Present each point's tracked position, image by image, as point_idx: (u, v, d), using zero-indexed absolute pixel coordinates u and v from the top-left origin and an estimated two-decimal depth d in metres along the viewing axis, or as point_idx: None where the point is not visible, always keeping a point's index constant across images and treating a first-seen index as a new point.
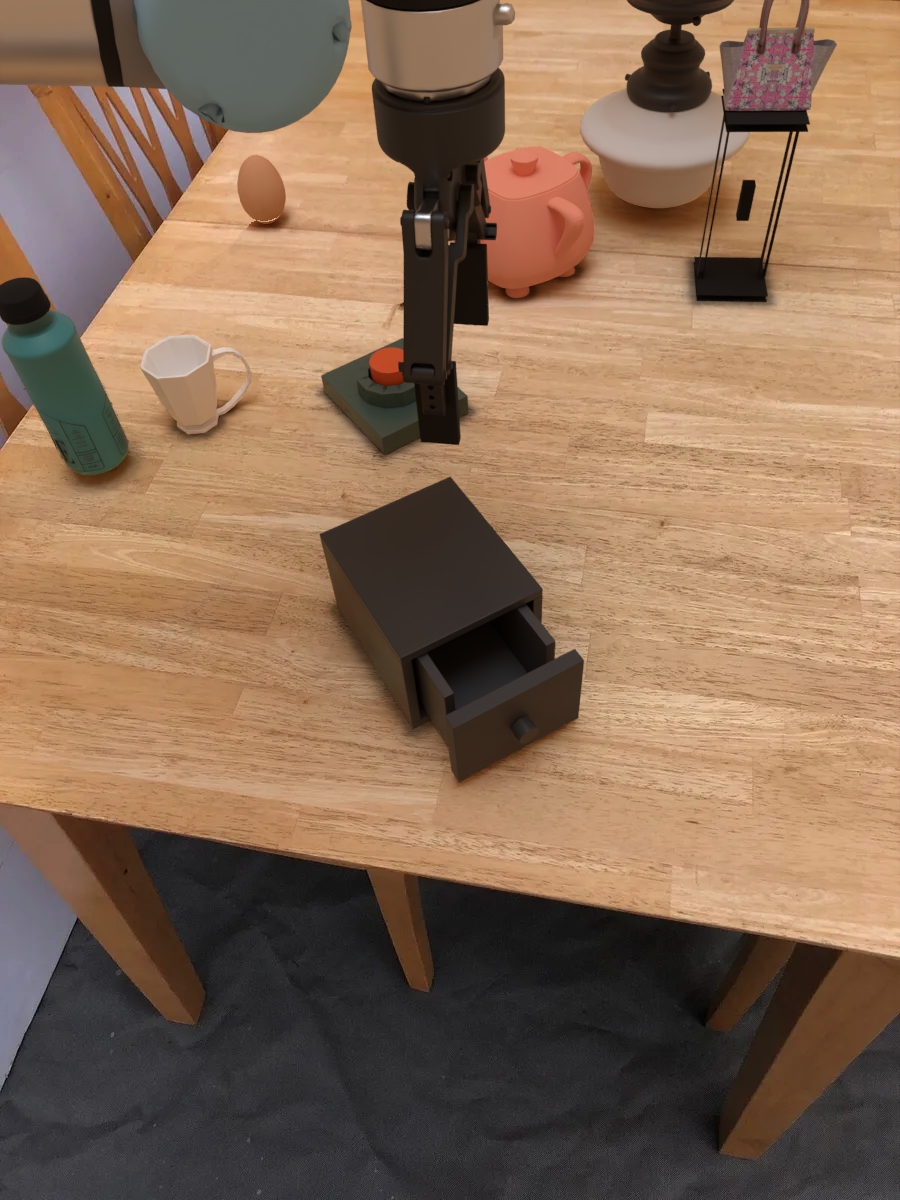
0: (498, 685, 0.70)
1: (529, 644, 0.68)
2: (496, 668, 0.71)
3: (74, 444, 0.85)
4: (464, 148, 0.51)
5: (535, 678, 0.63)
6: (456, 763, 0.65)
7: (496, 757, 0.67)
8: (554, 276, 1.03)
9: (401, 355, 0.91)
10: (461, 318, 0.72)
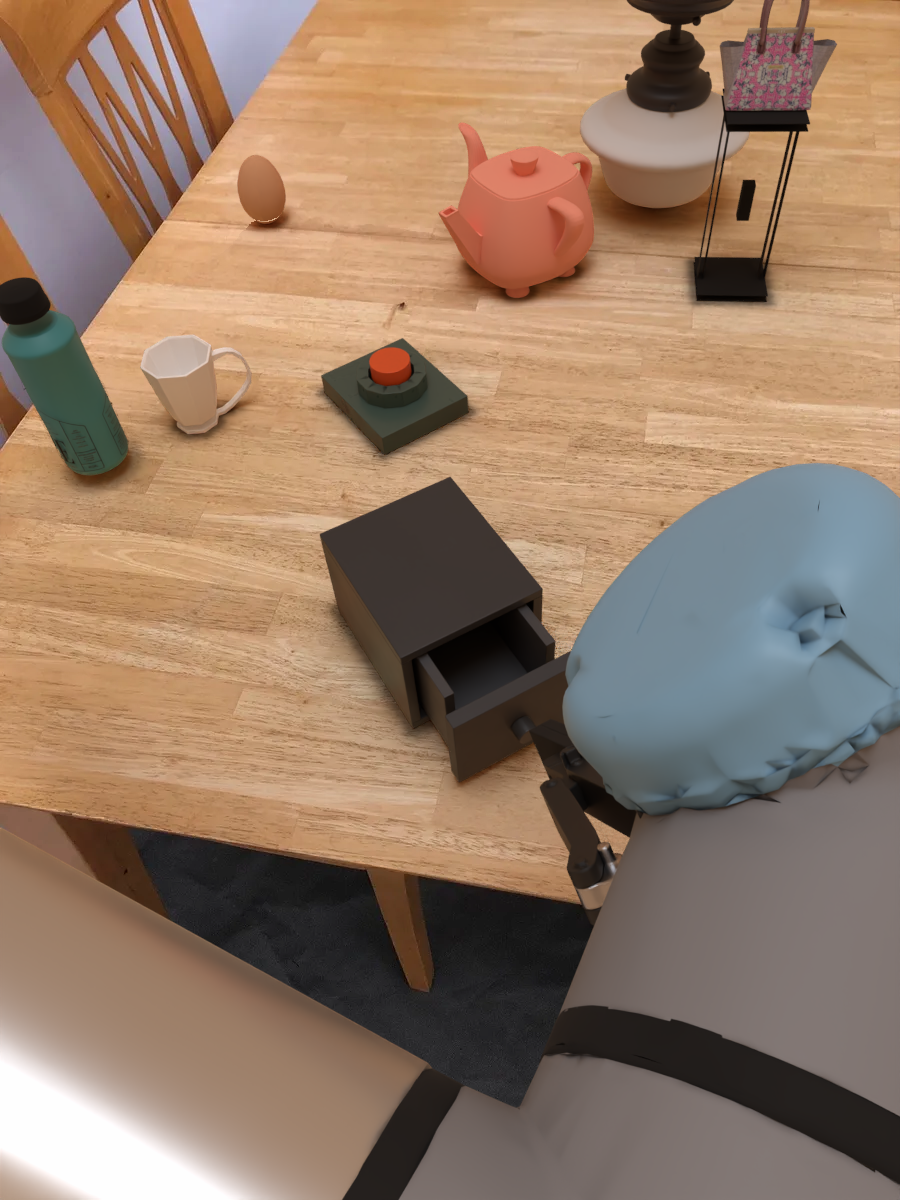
0: (498, 685, 0.70)
1: (529, 644, 0.68)
2: (496, 668, 0.71)
3: (74, 444, 0.85)
4: None
5: (535, 678, 0.63)
6: (456, 763, 0.65)
7: (496, 757, 0.67)
8: (554, 276, 1.03)
9: (401, 355, 0.91)
10: None
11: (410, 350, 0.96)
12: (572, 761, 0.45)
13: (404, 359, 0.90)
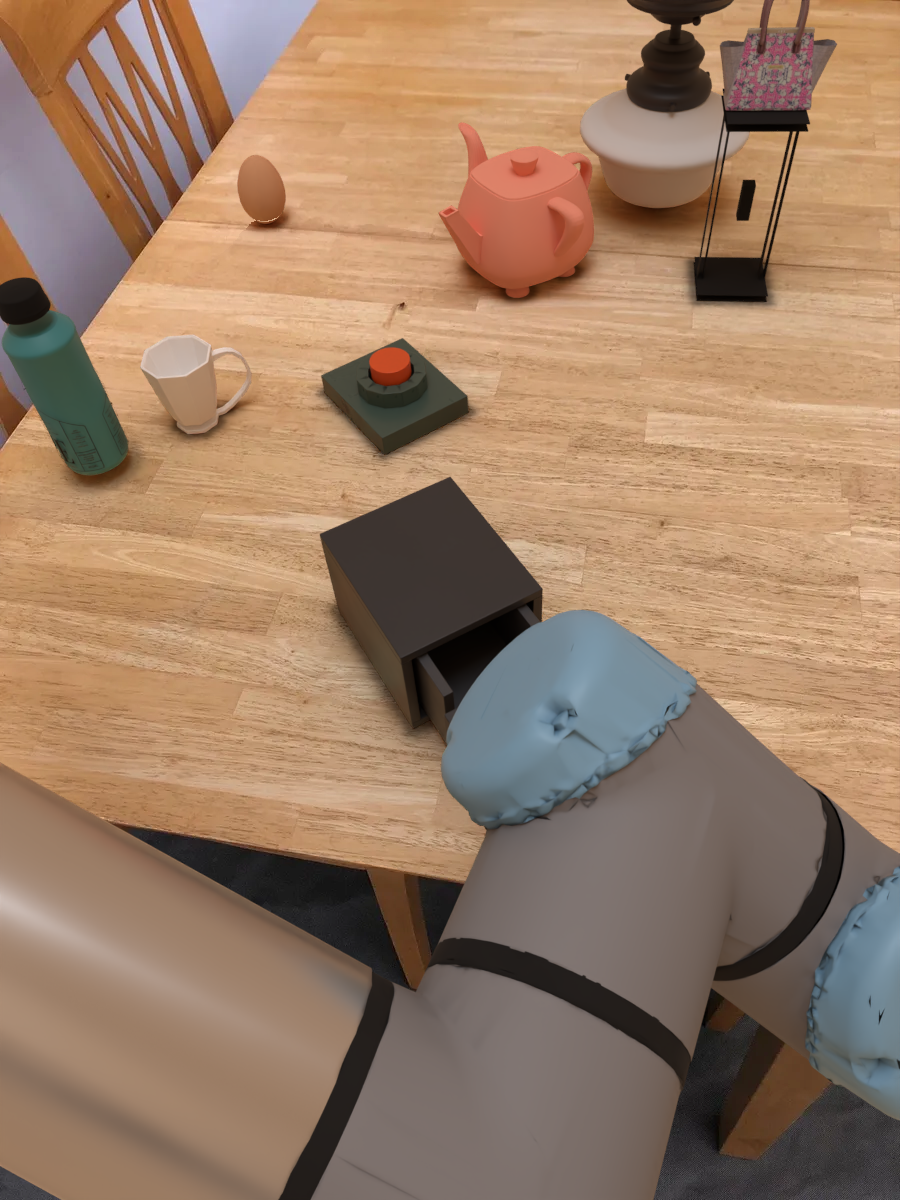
0: None
1: None
2: None
3: (74, 444, 0.85)
4: None
5: None
6: None
7: None
8: (554, 276, 1.03)
9: (401, 355, 0.91)
10: None
11: (410, 350, 0.96)
12: None
13: (404, 359, 0.90)
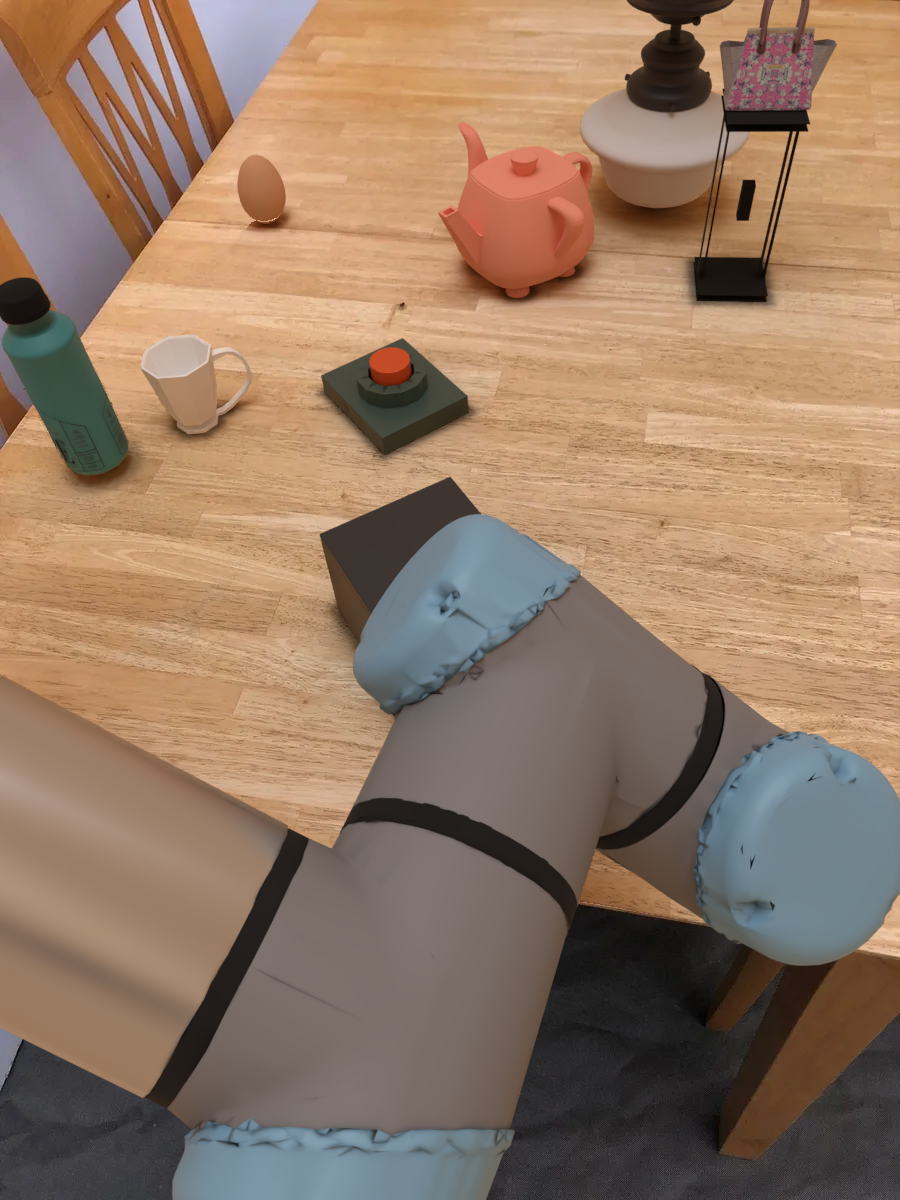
0: None
1: None
2: None
3: (74, 444, 0.85)
4: None
5: None
6: None
7: None
8: (554, 276, 1.03)
9: (401, 355, 0.91)
10: None
11: (410, 350, 0.96)
12: None
13: (404, 359, 0.90)
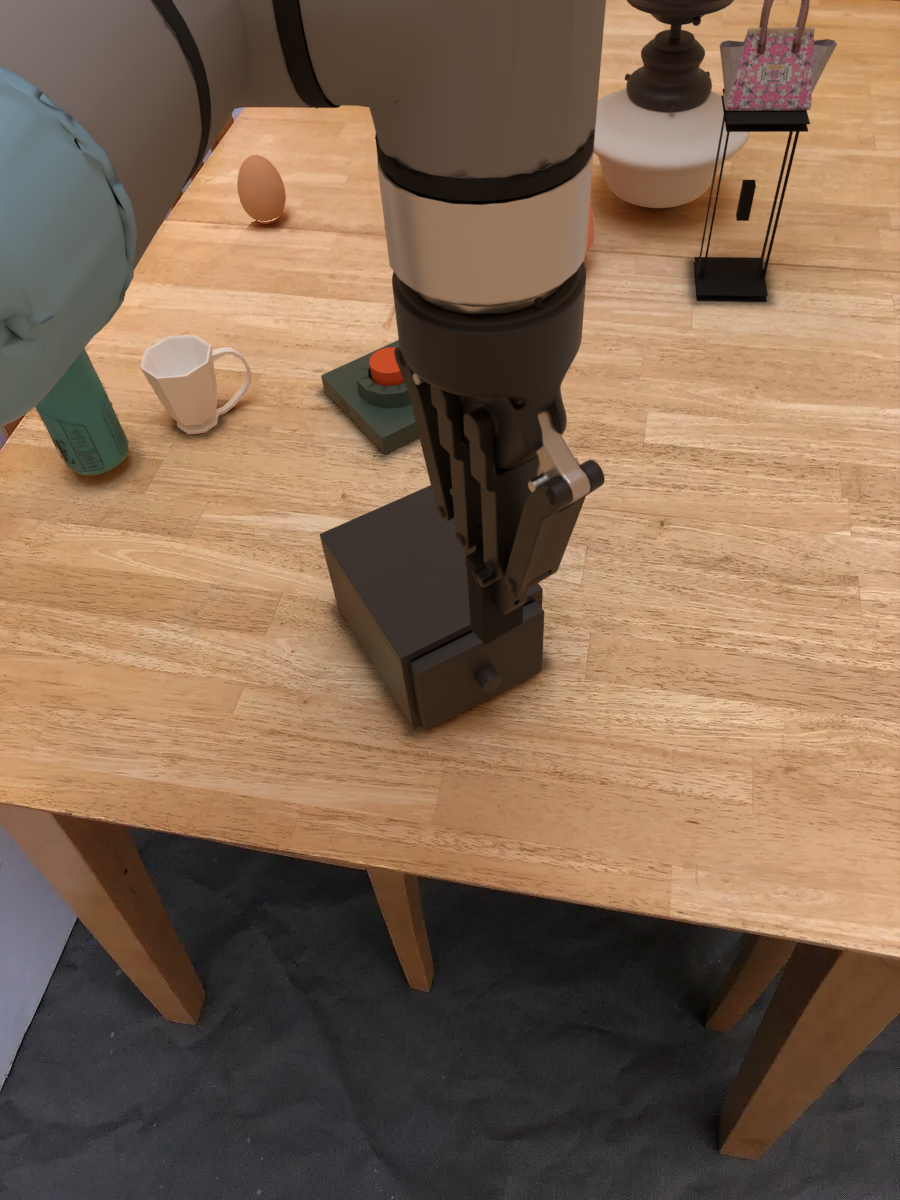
0: None
1: None
2: None
3: (74, 444, 0.85)
4: (577, 340, 0.36)
5: None
6: (422, 710, 0.67)
7: (462, 706, 0.70)
8: None
9: None
10: None
11: None
12: (489, 573, 0.47)
13: None
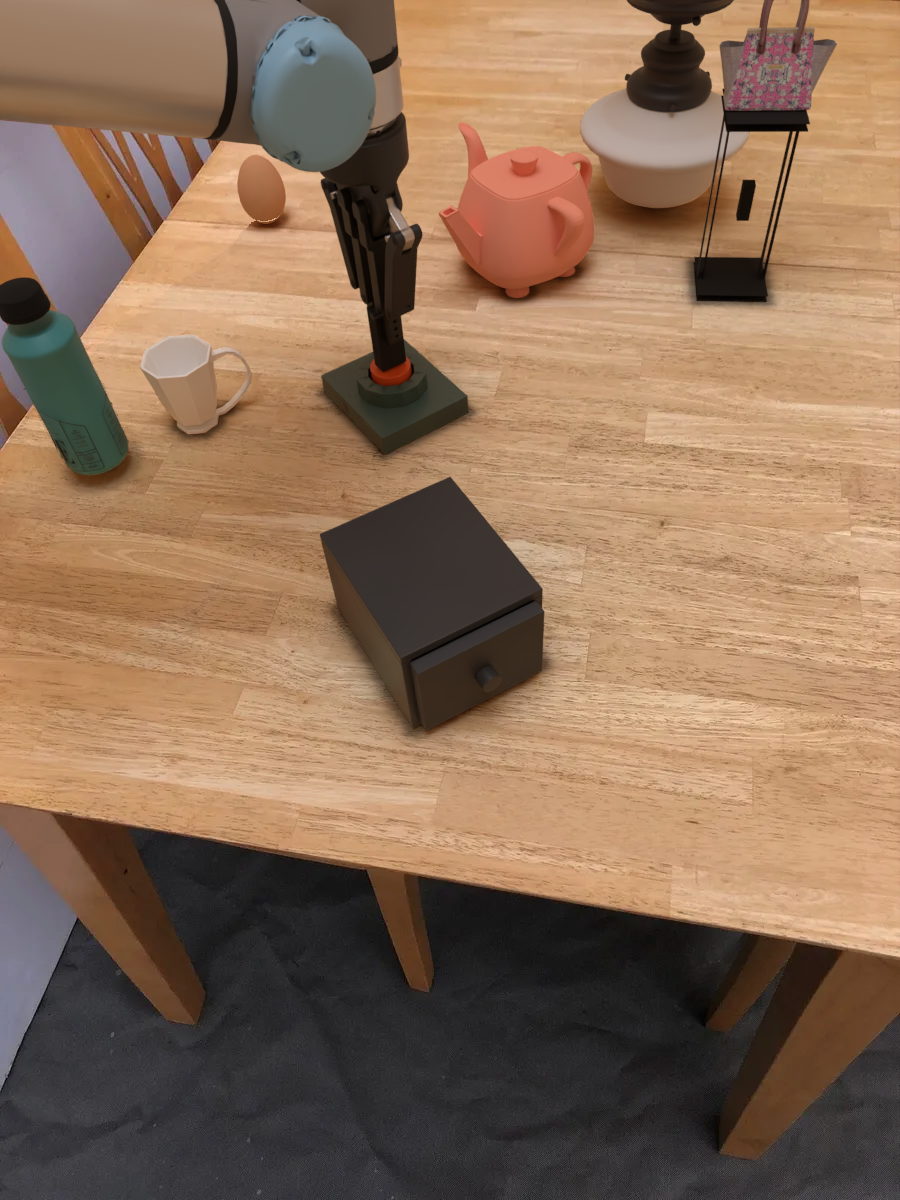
0: None
1: None
2: None
3: (74, 444, 0.85)
4: (403, 157, 0.73)
5: (497, 627, 0.65)
6: (422, 710, 0.67)
7: (462, 706, 0.70)
8: (554, 276, 1.03)
9: None
10: None
11: (410, 350, 0.96)
12: (377, 312, 0.84)
13: (405, 364, 0.91)
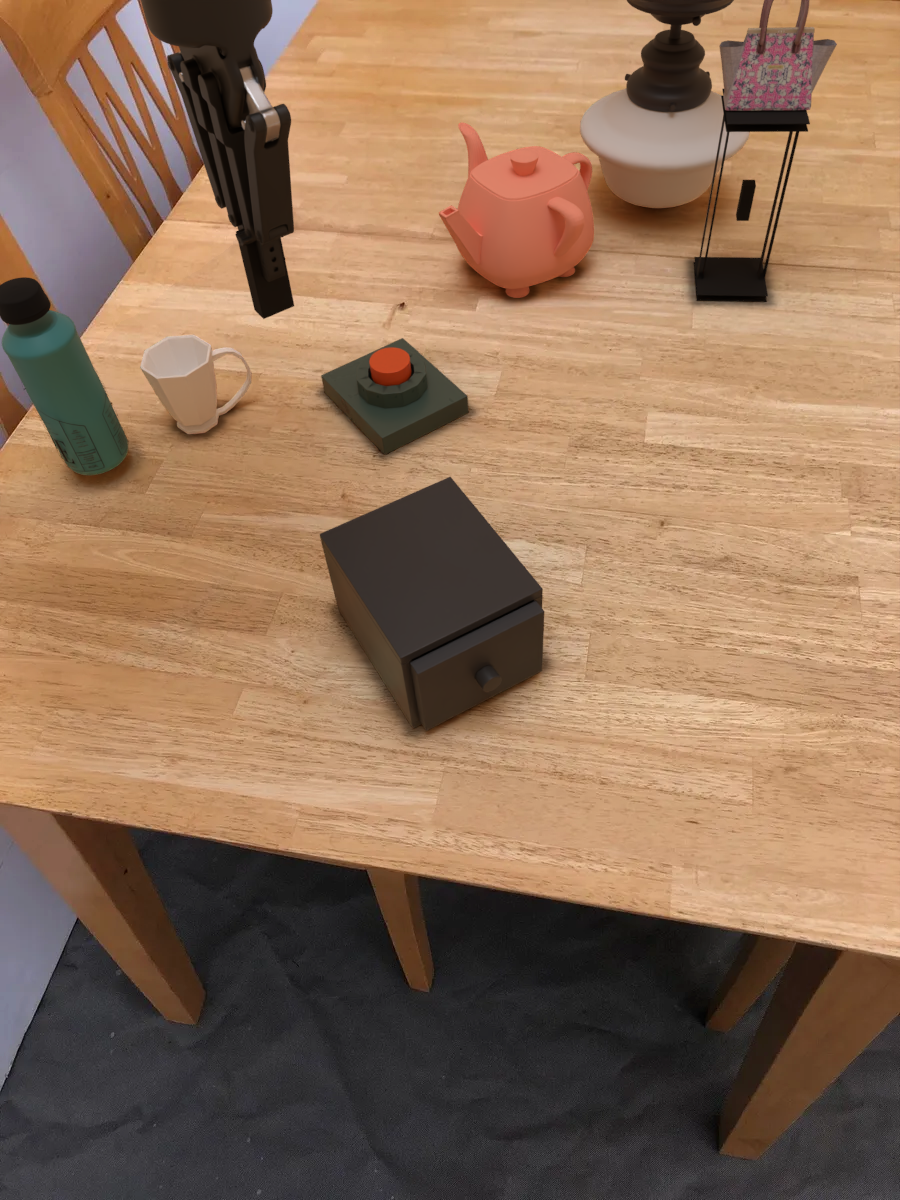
0: None
1: None
2: None
3: (74, 444, 0.85)
4: (261, 10, 0.54)
5: (497, 627, 0.65)
6: (422, 710, 0.67)
7: (462, 706, 0.70)
8: (554, 276, 1.03)
9: (401, 355, 0.91)
10: None
11: (410, 350, 0.96)
12: (247, 235, 0.64)
13: (404, 359, 0.90)
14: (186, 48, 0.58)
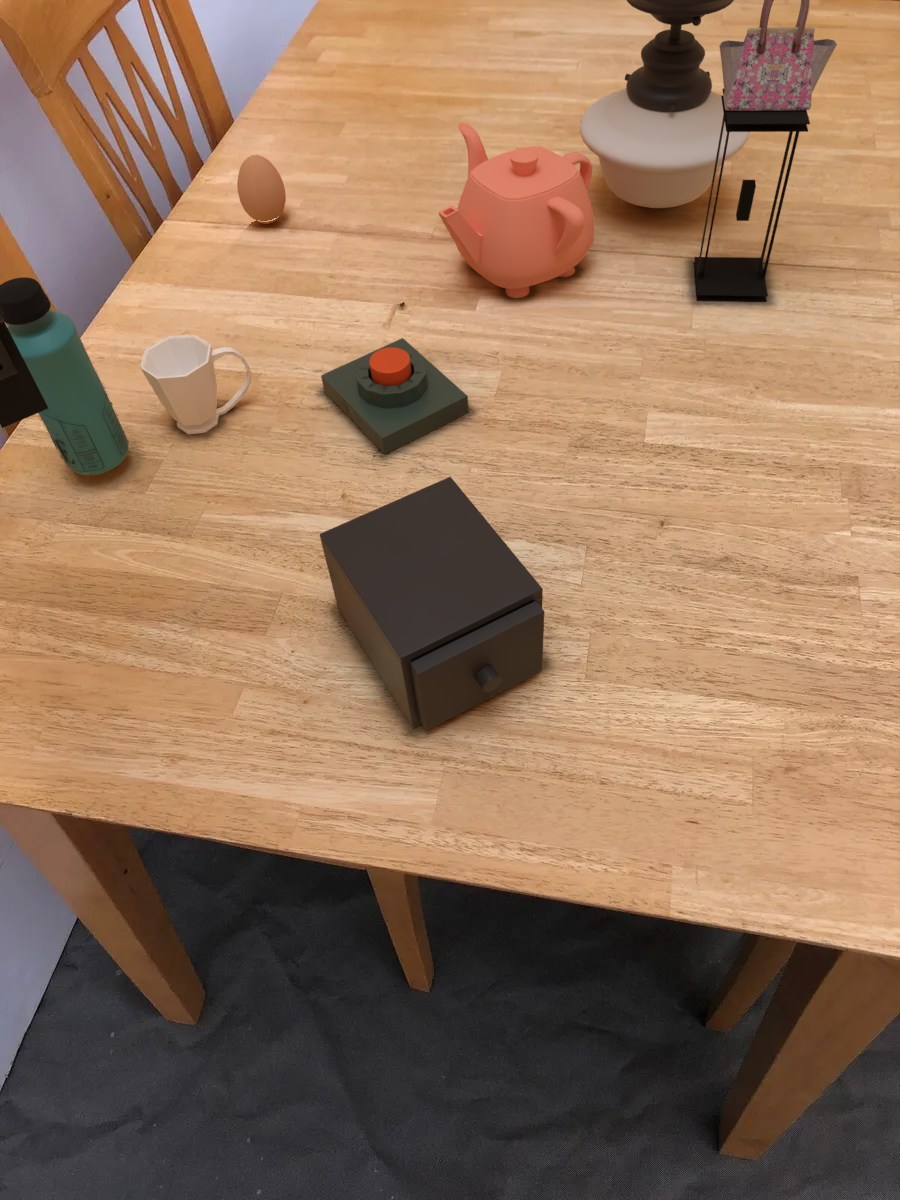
0: None
1: None
2: None
3: (74, 444, 0.85)
4: None
5: (497, 627, 0.65)
6: (422, 710, 0.67)
7: (462, 706, 0.70)
8: (554, 276, 1.03)
9: (401, 355, 0.91)
10: None
11: (410, 350, 0.96)
12: None
13: (404, 359, 0.90)
14: None
